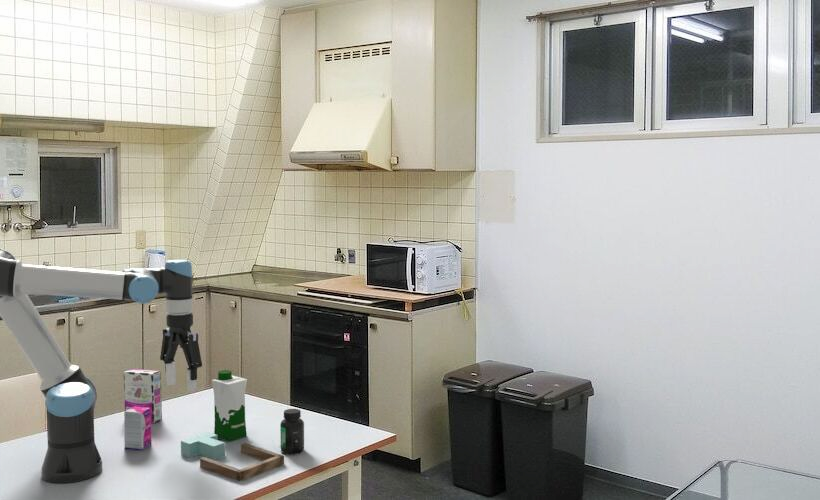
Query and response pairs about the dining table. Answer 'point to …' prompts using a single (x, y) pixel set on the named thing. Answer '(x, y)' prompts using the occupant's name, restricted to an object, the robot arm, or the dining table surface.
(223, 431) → the milk carton
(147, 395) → the candy bar box
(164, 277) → the robot arm
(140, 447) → the supplement box
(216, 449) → the tee
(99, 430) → the dining table surface
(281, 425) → the supplement bottle
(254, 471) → the wooden u-shaped frame
